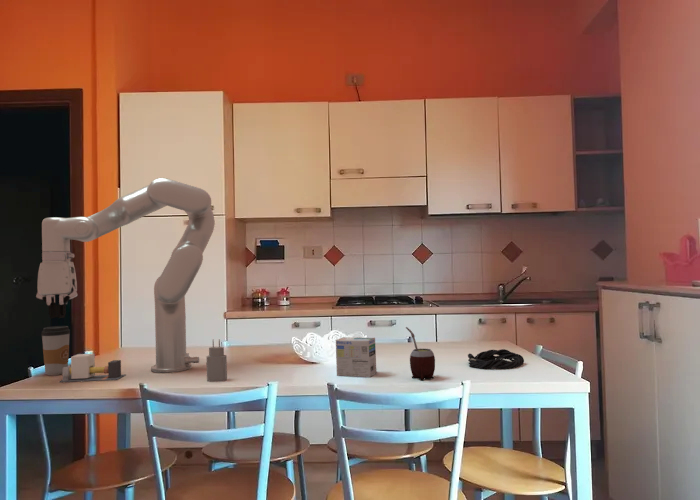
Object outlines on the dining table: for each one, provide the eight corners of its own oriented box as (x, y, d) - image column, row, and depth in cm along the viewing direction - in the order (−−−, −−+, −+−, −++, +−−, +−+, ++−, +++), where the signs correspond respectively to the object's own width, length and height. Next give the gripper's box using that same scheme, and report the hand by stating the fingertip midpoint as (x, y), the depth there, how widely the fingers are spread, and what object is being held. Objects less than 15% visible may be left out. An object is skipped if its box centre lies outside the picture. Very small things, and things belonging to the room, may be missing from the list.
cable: (519, 361, 174) (519, 348, 174) (530, 370, 160) (529, 356, 160) (466, 362, 176) (465, 349, 176) (471, 371, 162) (470, 356, 162)
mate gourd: (436, 375, 155) (434, 323, 155) (434, 382, 147) (432, 327, 147) (410, 375, 156) (408, 323, 157) (407, 381, 149) (405, 327, 149)
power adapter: (209, 379, 159) (208, 338, 159) (227, 379, 159) (226, 338, 159) (206, 381, 156) (205, 340, 156) (224, 381, 156) (223, 339, 156)
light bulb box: (377, 373, 161) (376, 336, 162) (370, 377, 155) (369, 340, 155) (343, 371, 165) (342, 336, 165) (335, 376, 159) (334, 339, 159)
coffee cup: (58, 376, 170) (57, 328, 171) (35, 376, 172) (34, 329, 172) (76, 371, 178) (76, 325, 179) (54, 370, 180) (54, 325, 180)
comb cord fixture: (125, 375, 169) (125, 359, 169) (116, 380, 162) (116, 363, 162) (70, 377, 168) (70, 360, 168) (59, 382, 161) (59, 365, 161)
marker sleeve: (94, 374, 167) (94, 353, 167) (88, 378, 163) (87, 356, 163) (78, 375, 167) (78, 354, 167) (71, 378, 162) (71, 356, 162)
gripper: (87, 257, 169) (88, 315, 169) (36, 258, 169) (37, 317, 168) (76, 256, 162) (77, 318, 161) (23, 258, 161) (24, 319, 161)
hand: (57, 317), depth 165 cm, fingers closed
